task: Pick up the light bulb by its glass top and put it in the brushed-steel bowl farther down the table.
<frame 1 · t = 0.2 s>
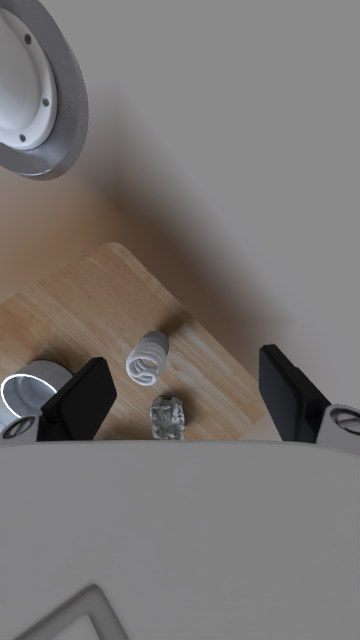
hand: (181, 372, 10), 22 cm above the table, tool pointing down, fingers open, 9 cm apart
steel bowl: (53, 383, 42), on the table
light bulb: (159, 336, 35), on the table
egg carton: (169, 412, 42), on the table
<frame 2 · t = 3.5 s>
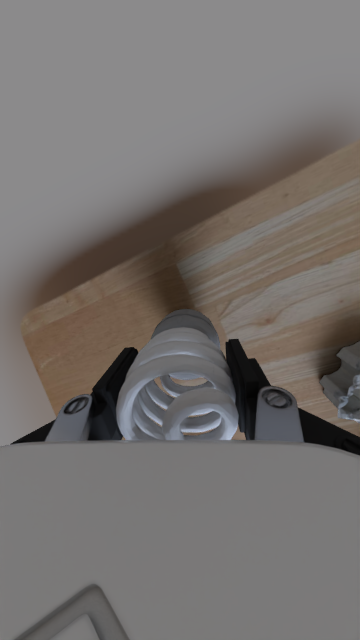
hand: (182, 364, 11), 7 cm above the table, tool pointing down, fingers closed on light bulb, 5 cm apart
light bulb: (187, 324, 18), on the table, touching gripper
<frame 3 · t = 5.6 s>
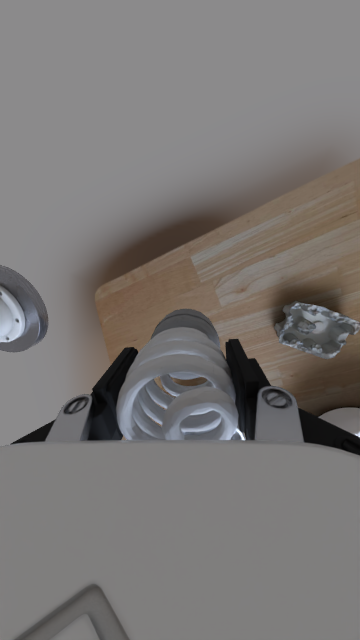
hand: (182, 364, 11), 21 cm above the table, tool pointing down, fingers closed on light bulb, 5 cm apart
bowl: (340, 428, 37), on the table
light bulb: (187, 324, 18), point 14 cm above the table, touching gripper
egg carton: (305, 325, 30), on the table
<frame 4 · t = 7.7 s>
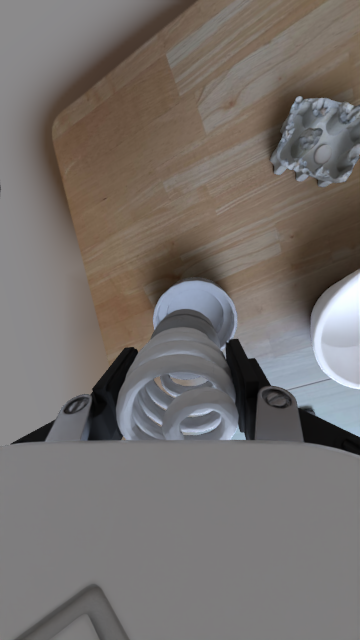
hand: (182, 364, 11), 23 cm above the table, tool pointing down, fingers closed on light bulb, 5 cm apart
bowl: (348, 312, 32), on the table
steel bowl: (194, 313, 34), on the table
light bulb: (187, 324, 18), point 16 cm above the table, touching gripper
egg carton: (308, 155, 25), on the table
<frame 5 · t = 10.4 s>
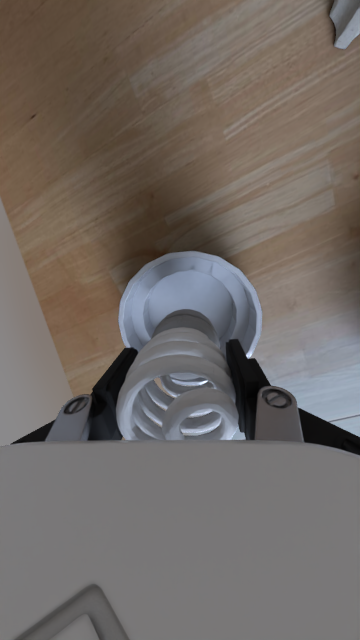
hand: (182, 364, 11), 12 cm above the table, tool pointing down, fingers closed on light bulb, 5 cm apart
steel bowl: (189, 311, 22), on the table
light bulb: (187, 324, 18), point 5 cm above the table, touching gripper
when the fingers open (8 cm above the table, at t = 12.0 s): light bulb stays where it is, resting on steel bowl.
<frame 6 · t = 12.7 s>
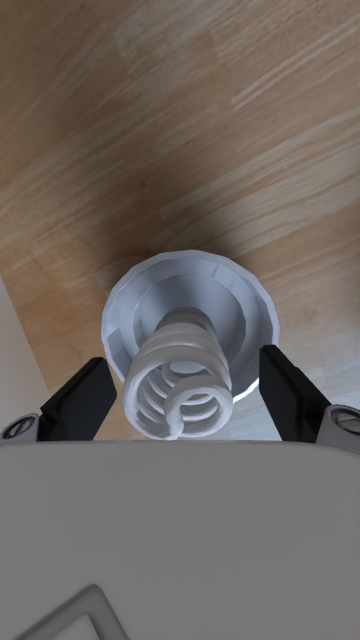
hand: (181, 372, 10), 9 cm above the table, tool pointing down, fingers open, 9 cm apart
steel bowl: (189, 321, 19), on the table
light bulb: (187, 321, 19), resting on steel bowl
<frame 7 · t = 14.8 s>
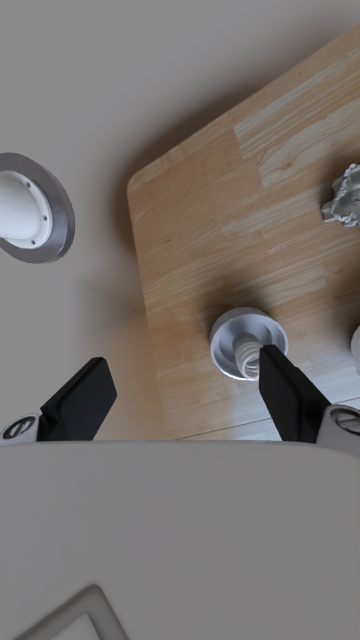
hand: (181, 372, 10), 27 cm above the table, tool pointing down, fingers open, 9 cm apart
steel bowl: (241, 337, 38), on the table
light bulb: (241, 337, 38), resting on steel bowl
egg carton: (355, 205, 28), on the table
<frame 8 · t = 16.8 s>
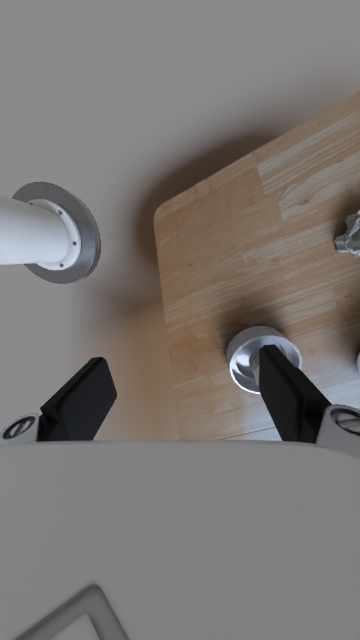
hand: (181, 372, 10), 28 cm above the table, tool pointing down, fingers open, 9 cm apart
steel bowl: (256, 352, 41), on the table
light bulb: (256, 353, 40), resting on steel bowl
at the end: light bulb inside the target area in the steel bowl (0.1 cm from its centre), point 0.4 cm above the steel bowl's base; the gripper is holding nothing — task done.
